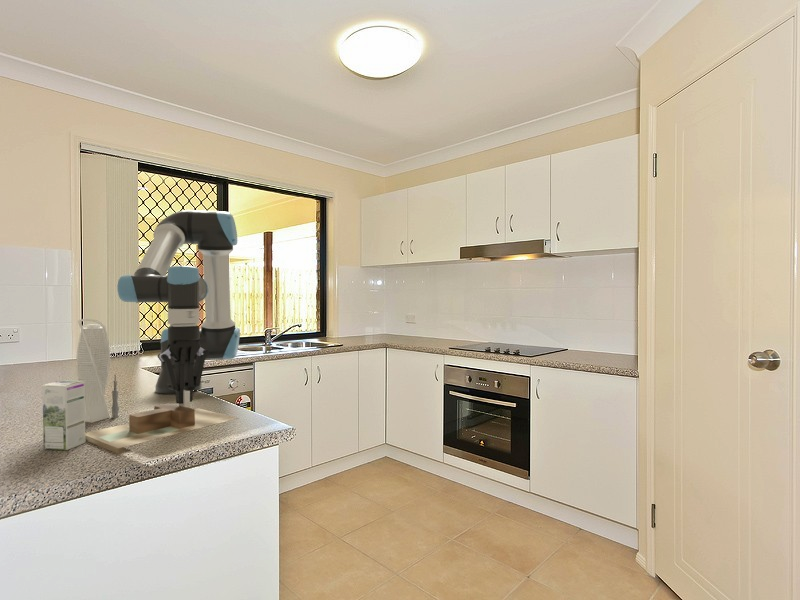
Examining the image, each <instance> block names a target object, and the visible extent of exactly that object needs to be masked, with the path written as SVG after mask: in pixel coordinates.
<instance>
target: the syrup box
mask: <svg viewBox="0 0 800 600" xmlns="http://www.w3.org/2000/svg"><path fill="white" fill-rule="evenodd" d="M41 389H42V439H43V442H42V444H43V446H42V447H43V448H42V449H43V450H47V451H48V450H49V451H50V450H51V451H53V450H54V451H69V450H71V449H73V448H74V449H75V448H76V447H78V446H81V445H83V444H85V443H86V442H87V441H86V439H85V433H86V422H85V382H84V381H78V380H57V381H51V382H49V383H45V384H42V388H41Z"/></svg>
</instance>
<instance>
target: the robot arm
mask: <svg viewBox="0 0 800 600" xmlns="http://www.w3.org/2000/svg"><path fill="white" fill-rule="evenodd" d="M237 231H238V230H237V225H236V221H235V219H234V216H233V215H232V214H231V212H229V211H219V210H191V209H185V210H184V209H183V210H180V211H177V212H173V213H171V214H170V215H168V216H166V217H164V218H163V219H161V221H159V222H158V224H157V225H156V227H155V229H154V230H153V235H152V236H153V240H151V241H152V242H151V243H150V245H149V246H148V248H147V250H146V252H145V254H144V256H143V257H142V259H141V261H140V263H139V264H138V266H137V268H136V270H135V272H134V274H124V275H121V276H120V277H119V279H118V280H117V285H116V286H117V287H116V288H117V296H118V297H119V299H120V300H121V301H122V302H125V303H136V304H138V303H139V304H140V303H167V324H168V325H169V326H168V327H167V328H164V329H163V330H162V332H161V333H160V334H161V337H160V342H159V343H160V353H158V354H157V359H158V360H159V361H160V372H159V375H158V377H157V380H156V383H155V393H158V394H164V395H166V394H167V395H168V394H169V395H170V394H171V395H173V394H175V403H176V404H177V405H179V406H183V407H188V408H191V402H193V399H194V397H193V394H194V391H193V390H196V391H200V390H202V387H203V385H202V384H203V383H202V376H203V375H202V374H203V371H204V367H205V366H204V365H205V361H225V360H233V359H234V358H236V357H237V353H238V350H239V345H240V336H241V329H240V328H238V327H236V322H235V321H234V320H232V318H231V317H232V315H231V290H230V288H231V287H230V285H231V284H230V281H231V280H230V253H232V252H233V250H234V246H236V245H237V244H238V232H237ZM184 245H197V250H198V251H199V252H200V253H201V254H202V265H203V268H202V271H203V278H202V277H201V276H200V269H199V268H198V267H196V266H194V265H193V266H191V265H172V263H173V260H174V258H175V256H176V254H177V251H178V250H179V249H181V247H183V246H184ZM171 265H172V266H171ZM203 300H204V310H205V311H204V313H205V320H203V322H202V323H201V326H199V325H198V324H199V323H200V302H201V301H203ZM200 327H201V328H200ZM196 391H195V392H196Z"/></svg>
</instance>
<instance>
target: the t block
mask: <svg viewBox="0 0 800 600" xmlns="http://www.w3.org/2000/svg"><path fill="white" fill-rule="evenodd" d="M195 409H196V408H192V407H190V408H188V407H183V406H179V404H175V403H170V402H168V403H164V404H163V403H162V404H159V405H158V404H157V405H154V406H153V409H152V410H151V409H150V410H147V411H142V412H135V413H132V414H129V415H128V417H129V418H128V423H129V431H130V432H133V433H136V434H140V433H144V432H148V431H153V430H157V429H161V428H165V427H169V426H172V427H175V428H179V429H181V428H185V427H189V426H193V425H195Z"/></svg>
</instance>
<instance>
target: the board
mask: <svg viewBox="0 0 800 600" xmlns="http://www.w3.org/2000/svg"><path fill="white" fill-rule="evenodd" d="M194 409H195V425H193V426H189V427H185V428H181V429H179V428H175V427H172V426H169V427H165V428H161V429H157V430H153V431H148V432H144V433H140V434H136V433H133V432H130V431H129V422H128V423H124V424H119V425H115V426H110V427H105V428H100V429H95V430H90V431H87V432H86V431H85V439H86V442H89V443H91V444H94V445H95V446H98V447H101V448H103V449H104V450H108V451H109V452H112V453H114V454H117V455H120V454H124V453H127V452H131V451H132V449H128V448H126V447H130V446H135V445H138V444H139V445H140V444H142V443H147V442H149V441H150V442H151V441H154V440H159V439H163V438H166V437H171V436H174V435H178V434H181V433H182V434H183V433H186V432H190V431H194V430H199V429H202V428H206V427H210V426H213V425H218V424H222V423H226V422H230V421H234V420H239V417H237V416H232V415H228V414H224V413H220V412H215V411H212V410H211V411H210V410H208V409H203V408H199V407H198V408H194Z"/></svg>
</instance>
